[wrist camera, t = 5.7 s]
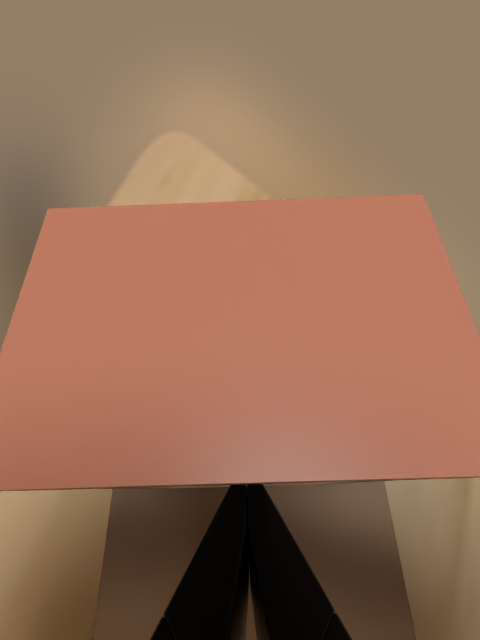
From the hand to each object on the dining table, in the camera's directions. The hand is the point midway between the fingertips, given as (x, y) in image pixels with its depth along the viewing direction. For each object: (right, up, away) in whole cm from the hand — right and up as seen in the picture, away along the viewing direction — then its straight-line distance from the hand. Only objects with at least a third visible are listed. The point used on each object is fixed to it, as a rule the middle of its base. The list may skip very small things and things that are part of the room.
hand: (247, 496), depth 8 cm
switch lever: (0, -1, +7) cm, 7 cm away
